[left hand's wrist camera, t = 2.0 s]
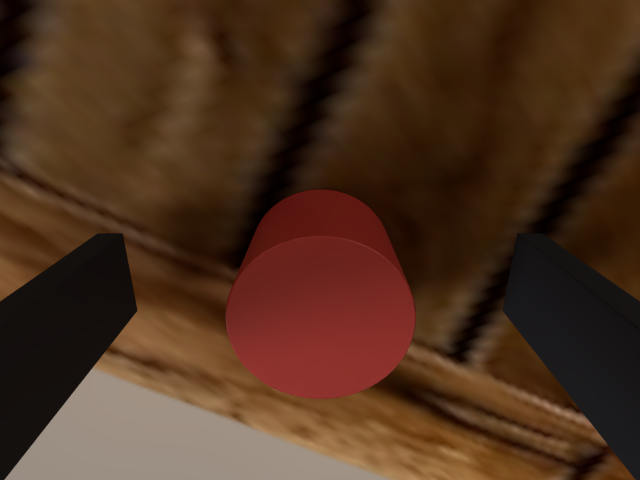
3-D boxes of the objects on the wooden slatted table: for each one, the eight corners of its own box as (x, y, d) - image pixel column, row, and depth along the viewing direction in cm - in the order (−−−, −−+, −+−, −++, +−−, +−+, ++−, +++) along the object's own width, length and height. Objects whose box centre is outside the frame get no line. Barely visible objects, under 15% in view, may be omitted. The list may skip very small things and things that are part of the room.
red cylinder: (230, 282, 14) (196, 358, 10) (288, 163, 13) (274, 201, 9) (347, 334, 15) (357, 422, 11) (415, 228, 14) (454, 288, 10)
